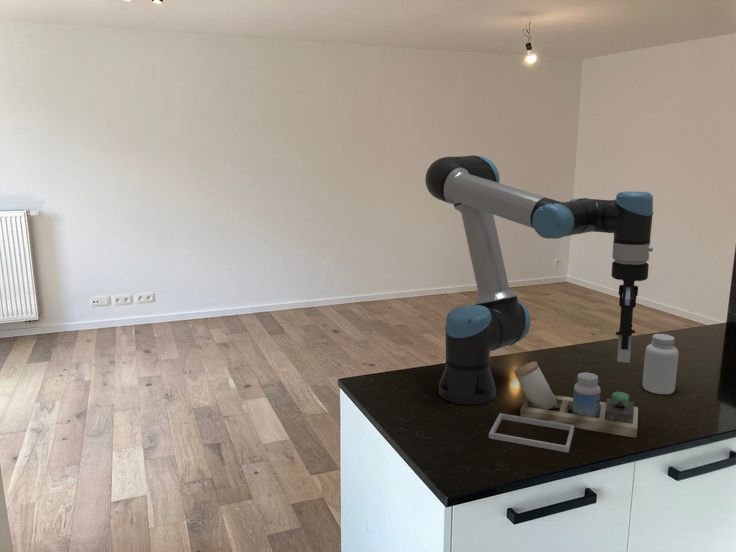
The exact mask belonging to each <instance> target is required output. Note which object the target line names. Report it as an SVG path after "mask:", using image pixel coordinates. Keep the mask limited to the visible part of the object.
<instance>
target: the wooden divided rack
mask: <svg viewBox="0 0 736 552" xmlns="http://www.w3.org/2000/svg"><path fill="white" fill-rule="evenodd" d="M553 395H554V396H555V398H556V400H557V404H556V405H555V406H554V407H553V408H556V409H559V411H557V410H556V411H555V410H550V409H549V410H544V409H537V408H533V407H532V405H531V403H530V401H529V399H528V397H527V396H526V397H525V399H524V401H523V402H522V403H523V404H522V406H521V408H520V413H519V414H520V415H519V416H520V417H526V418H532V419H538V420H544V421H550V422H557V423H563V424H569V425H574V429H581V430H585V431H592V432H597V433H605V434H610V435H616V436H623V437H628V438H634V439H637V437H638V423H639V421H638V420H639V407H638V406H635V402H634V401H630V400H628V401H627V402H623V407H618V406H617V401H615V400H614V399H612V398H606V402H604V401H600V414H599V418H595V417H589V416H582V415H576V414H573V413H568V412H569V411H570V410H571V411H573V397H571V396H564V395H555V394H553Z"/></svg>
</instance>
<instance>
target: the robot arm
mask: <svg viewBox="0 0 736 552" xmlns="http://www.w3.org/2000/svg"><path fill="white" fill-rule="evenodd" d="M424 180H425V185H426V189H427V190H428V191H427V192H428V193H429V194H430V195H431V196H432V197H434V198H435V199H438V200H440V201H443V202H445V203H446V204H450V205H453V207H454V209H455V210H457V211H458V212H459V213H460V214H461V219H462V223H463V229H464V232H465V238H466V241H467V245H468V251H469V256H470V259H471V265H472V270H473V274H474V279H475V284H476V288H477V289H476V290H477V292H478V297H477V298H476V300H475V302H474V304H468V305H461V306H457V307H455V308H453V309H451V310H450V311H449V312H448V313H447V315H446V320H445V327H444V331H445V367H444V370H443V373H442V375H441V378H440V381H439V383H438V394H439V396H440V397H441V398H442V399H444V400H446V401H448V402H450V403H453V404H458V405H467V406H473V405H475V406H476V405H483V404H486V403H489V402H491V401H492V400H494V399H495V398H496V396H497V395H496V392H497V390H496V384H495V379H494V378H493V374H492V373H493V372H492V371H491V367H490V365H491V364H490V361H491V360H490V359H491V352H493V351H496V350H499V349H500V348H504V347H508V346H512V345H515V344H516V343H518V342H520V341H522V340H523V339H525V338H526V336H527V334H528V333H529V331H530V327H531V316H530V313H529V310H528V308H527V307H526V306H524V304H523V303H522V302H520V301H518V296H517V294H516V293H515V292H514V291H512V290H511V289H510V286H509V280H508V277H507V276H508V275H507V272H506V268H505V262H504V258H503V253H502V249H501V244H500V239H499V236H498V230H497V225H496V220H495V216H497V217H500V218H502V219H505V220H508V221H510V222H514V223H517V224H520V225H523V226H525V227H529V228H530V229H534V231H535V232H536V233H537V234H538V236H540V237H542V238H544V239H549V240H550V239H552V240H553V239H555V240H556V239H557V240H558V239H562V238H564V237H569V236H575V235H580V234H586V233H593V232H595V233H604V234H605V233H607V234H613V241H612V242H613V243H612V259H613V262H611V277H612V279H614V280H618V281H623V283H622V284H619V287H618V296H619V300H618V301H619V302H618V306H619V307H620V320H619V321H620V322H619V329H618V331H616V332H615V333H616V334H615V335H616V336H618V341H617V342H618V343H617V358H616V359H617V360H616V361H617V362H619V363H628V364H631V351H632V338H633V337H632V336H633V334H635V333H636V330H635V329H632V328H633V314H634V312H633V311H634V308H636V306H637V297H638V295H639V294H638V293H639V286H638V285H636V284H635V282H643V281H646V280H647V279H648V277H649V269H650V268H649V263H648V261H649V259H650V252H653V250H654V248H653V247H651V237H652V236H651V234H652V225H653V224H652V223H653V216H654V207H653V206H654V196H653V194H651V193H650V192H648V191H620V192H618V193H617V194H616V196H615V197H616V198H615V199H612V200H611V199H595V198H587V197H583V198H580V197H579V198H572V199H570V200H569V201H560V200H559V201H558V200H556V199H552V198H548V197H546V196H543V195H540V194H536V193H533V192H529V191H526V190H522V189H520V188H516V187H513V186H510V185H506V184H504V183H503V184H502V183H500V173H499V170H498V167H497V166H496V165H495V163H494V162H493V161H492V160H491V159H489V158H487V157H485V156H481V155H473V154H471V155H465V156H464V155H463V156H462V155H461V156H460V155H459V156H444V157H440V158H438V159H436V160H434V161H433V162H432V163H431V164H430V166H429V167H428V169H427V170H426V173H425V179H424ZM494 215H495V216H494Z"/></svg>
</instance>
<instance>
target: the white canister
mask: <svg viewBox="0 0 736 552" xmlns="http://www.w3.org/2000/svg"><path fill="white" fill-rule="evenodd" d="M514 375H515V377H516V378H517V380H518V382H519V384H520V386H521V388H522V389H523V392H524V393H525V395H526V397H528V399H529V401H530V403H531V408H537V409H544V410H550V409H552V408H555V407H554V406H555V405H556V404H557V400H556V398H555V396H554V395H555V394H554V393H553V391H552V389H551V387H550V385H549V384H548V381H547V380H546V378H545V376H544V374H543V372H542V370H541V368H540V367H539V364H538V362H537V361H530V362H527V363H524V364H523V365H521V366H519V367H518V368H517V369H515V370H514Z"/></svg>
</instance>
